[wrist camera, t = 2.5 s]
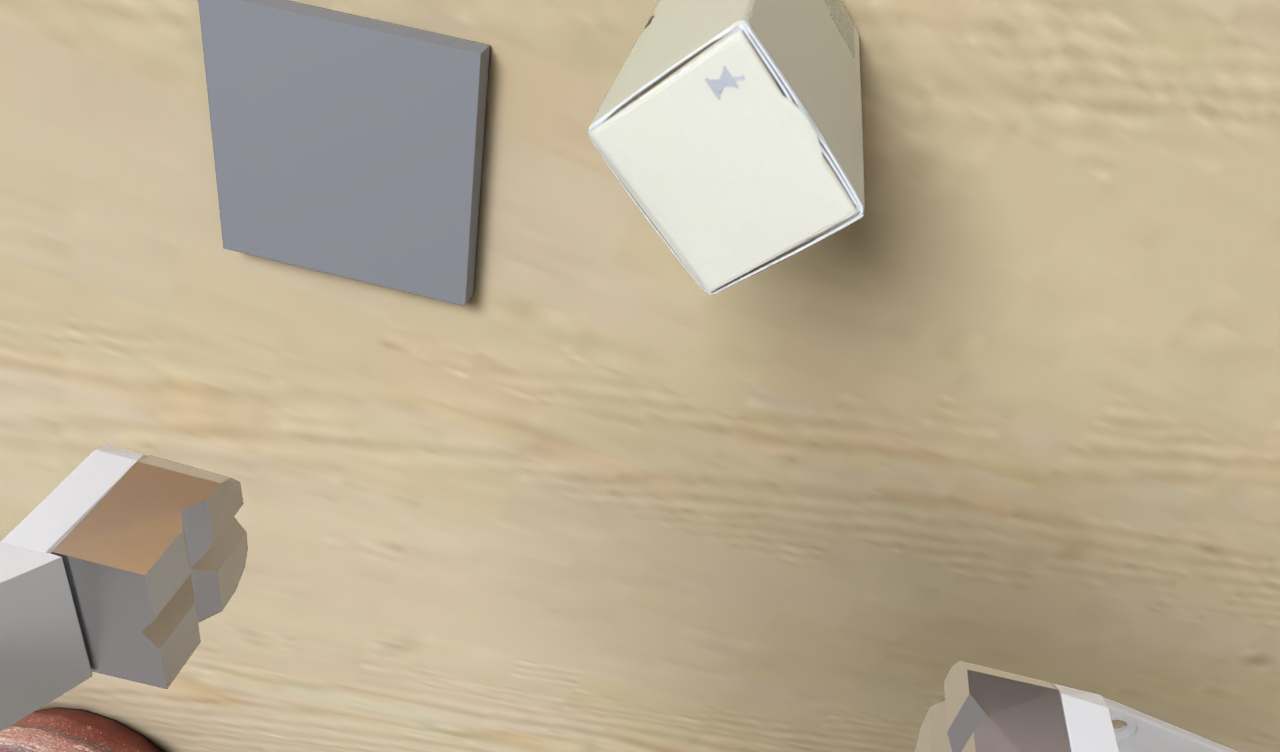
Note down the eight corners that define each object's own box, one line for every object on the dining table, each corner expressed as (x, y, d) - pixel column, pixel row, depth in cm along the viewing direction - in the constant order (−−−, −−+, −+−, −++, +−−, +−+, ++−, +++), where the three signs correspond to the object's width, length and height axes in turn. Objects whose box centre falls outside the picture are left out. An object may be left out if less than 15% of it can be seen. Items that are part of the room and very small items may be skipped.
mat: (489, 45, 34) (480, 53, 33) (473, 293, 40) (464, 305, 39) (213, -16, 35) (197, -10, 34) (236, 237, 41) (223, 248, 40)
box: (666, -20, 32) (566, 122, 21) (784, -106, 30) (738, 4, 19) (755, 116, 34) (704, 307, 23) (872, 44, 32) (873, 218, 21)
